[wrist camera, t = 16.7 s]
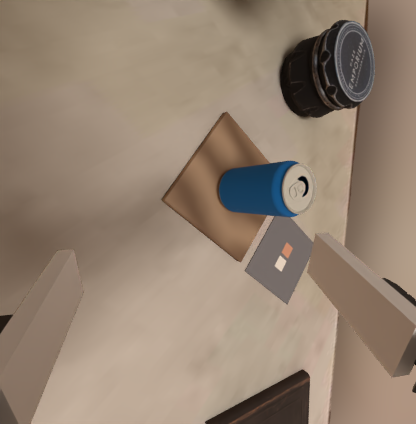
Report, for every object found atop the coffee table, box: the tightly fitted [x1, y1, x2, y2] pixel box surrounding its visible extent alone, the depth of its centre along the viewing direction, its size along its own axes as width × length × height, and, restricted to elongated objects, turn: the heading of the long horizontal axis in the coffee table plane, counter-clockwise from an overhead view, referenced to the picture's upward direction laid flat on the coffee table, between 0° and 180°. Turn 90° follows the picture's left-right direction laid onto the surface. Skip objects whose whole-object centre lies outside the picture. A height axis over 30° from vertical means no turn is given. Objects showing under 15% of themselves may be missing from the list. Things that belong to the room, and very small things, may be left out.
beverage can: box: [219, 161, 317, 217], centre depth 34 cm, size 6×6×12 cm
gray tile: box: [245, 216, 313, 304], centre depth 47 cm, size 13×13×1 cm
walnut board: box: [162, 112, 270, 262], centre depth 39 cm, size 16×16×1 cm
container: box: [281, 20, 375, 118], centre depth 43 cm, size 13×13×10 cm
